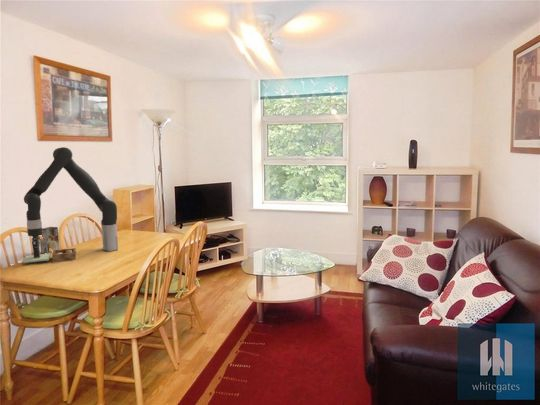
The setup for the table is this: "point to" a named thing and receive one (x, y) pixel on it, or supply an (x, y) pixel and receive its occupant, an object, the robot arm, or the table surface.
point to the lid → (35, 259)
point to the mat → (36, 262)
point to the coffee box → (49, 239)
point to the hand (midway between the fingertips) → (37, 255)
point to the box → (64, 255)
